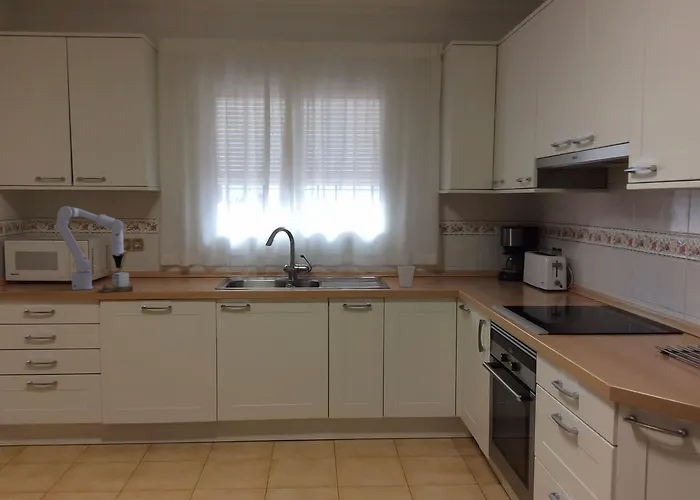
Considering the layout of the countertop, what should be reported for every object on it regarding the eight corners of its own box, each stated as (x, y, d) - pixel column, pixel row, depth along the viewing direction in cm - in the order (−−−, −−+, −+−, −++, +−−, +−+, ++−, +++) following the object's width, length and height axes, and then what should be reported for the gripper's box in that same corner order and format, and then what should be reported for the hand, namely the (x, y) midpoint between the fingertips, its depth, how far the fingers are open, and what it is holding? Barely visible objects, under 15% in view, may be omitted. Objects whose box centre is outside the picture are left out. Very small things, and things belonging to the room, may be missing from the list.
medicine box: (122, 288, 317) (122, 272, 316) (129, 288, 316) (129, 272, 315) (112, 290, 310) (111, 273, 309) (119, 291, 308) (118, 274, 308)
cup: (409, 285, 333) (410, 265, 332) (418, 287, 324) (418, 267, 323) (393, 285, 330) (393, 266, 329) (401, 288, 320) (401, 268, 319)
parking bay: (102, 292, 302) (102, 287, 302) (103, 289, 313) (103, 284, 313) (132, 291, 307) (132, 286, 307) (133, 288, 318) (133, 283, 317)
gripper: (125, 243, 313) (126, 269, 314) (126, 241, 326) (126, 266, 328) (110, 243, 310) (111, 269, 312) (112, 241, 324) (113, 266, 325)
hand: (118, 268), depth 320 cm, fingers closed
